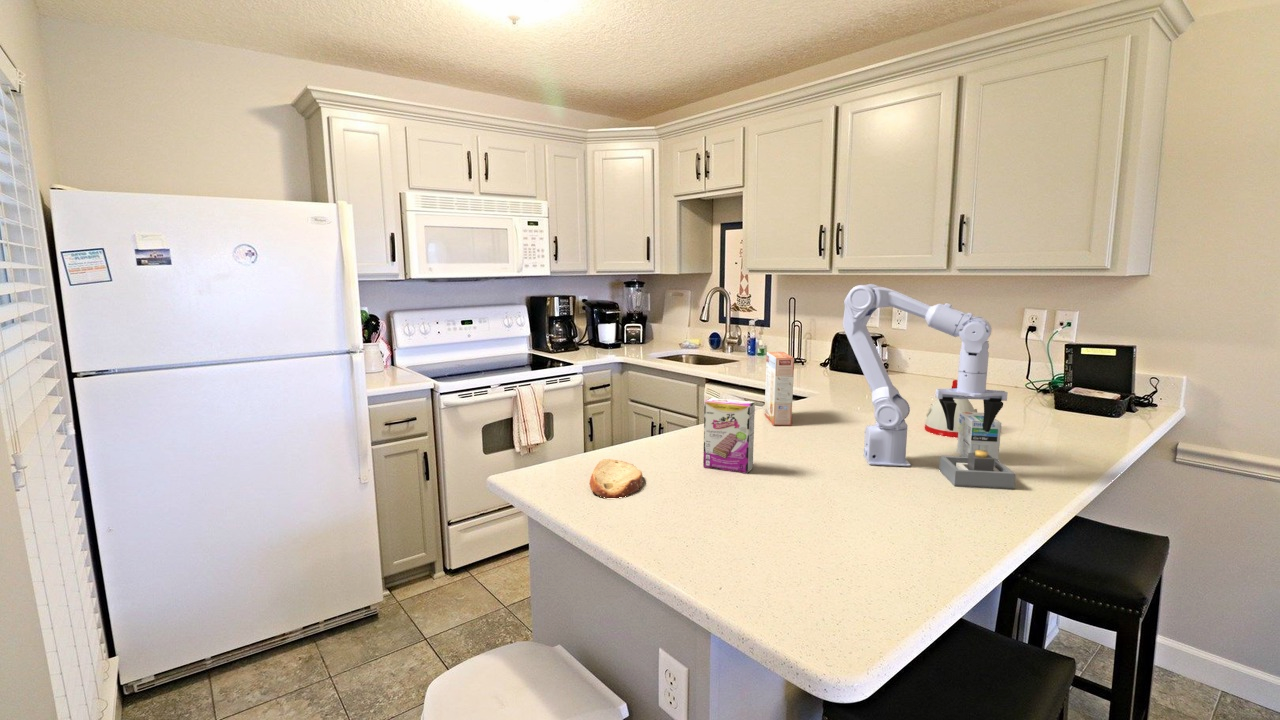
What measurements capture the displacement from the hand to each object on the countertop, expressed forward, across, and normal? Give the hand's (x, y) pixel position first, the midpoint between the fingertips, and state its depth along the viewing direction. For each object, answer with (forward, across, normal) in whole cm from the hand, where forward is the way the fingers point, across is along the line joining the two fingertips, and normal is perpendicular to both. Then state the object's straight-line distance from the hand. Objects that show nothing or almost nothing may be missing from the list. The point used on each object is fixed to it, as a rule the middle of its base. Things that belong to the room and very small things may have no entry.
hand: (968, 430), depth 141 cm
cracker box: (+11, -40, +44) cm, 61 cm away
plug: (+10, +2, -3) cm, 11 cm away
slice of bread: (+11, -80, -17) cm, 82 cm away
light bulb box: (+11, +7, +13) cm, 18 cm away
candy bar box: (+11, -54, -4) cm, 55 cm away
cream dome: (+11, +9, +39) cm, 41 cm away
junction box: (+10, +1, -4) cm, 11 cm away
